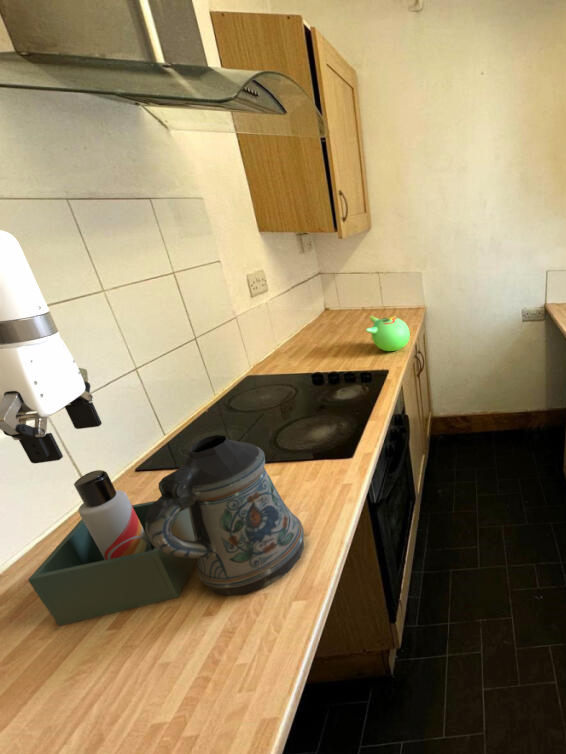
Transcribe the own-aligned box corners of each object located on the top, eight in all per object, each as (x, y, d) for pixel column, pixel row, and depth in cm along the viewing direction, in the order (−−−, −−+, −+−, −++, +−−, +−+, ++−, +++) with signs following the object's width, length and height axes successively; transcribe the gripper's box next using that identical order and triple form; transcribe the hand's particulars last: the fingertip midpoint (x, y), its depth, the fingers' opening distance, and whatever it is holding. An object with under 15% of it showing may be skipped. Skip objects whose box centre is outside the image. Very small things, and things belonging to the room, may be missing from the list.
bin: (58, 626, 63) (27, 579, 59) (109, 555, 76) (86, 513, 72) (178, 597, 68) (157, 552, 64) (207, 534, 80) (191, 494, 76)
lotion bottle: (152, 578, 70) (103, 481, 62) (110, 589, 68) (54, 491, 60) (163, 554, 75) (120, 461, 67) (125, 563, 73) (75, 469, 65)
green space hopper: (411, 354, 174) (407, 320, 168) (369, 358, 170) (364, 323, 165) (411, 341, 190) (407, 310, 184) (372, 344, 186) (367, 312, 181)
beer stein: (317, 521, 83) (288, 411, 73) (283, 607, 66) (238, 478, 56) (229, 531, 81) (187, 419, 71) (169, 622, 64) (101, 490, 54)
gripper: (24, 316, 60) (73, 419, 67) (-88, 354, 45) (-10, 482, 52) (88, 312, 63) (129, 413, 70) (2, 347, 48) (65, 471, 54)
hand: (70, 442), depth 61 cm, fingers open, 9 cm apart
